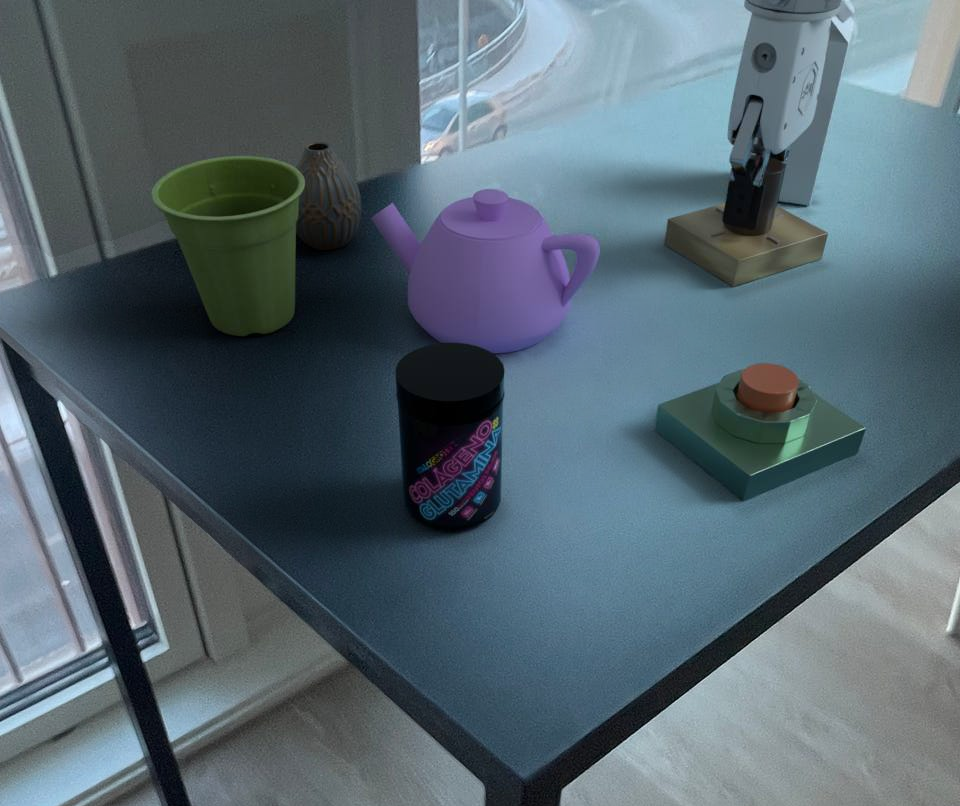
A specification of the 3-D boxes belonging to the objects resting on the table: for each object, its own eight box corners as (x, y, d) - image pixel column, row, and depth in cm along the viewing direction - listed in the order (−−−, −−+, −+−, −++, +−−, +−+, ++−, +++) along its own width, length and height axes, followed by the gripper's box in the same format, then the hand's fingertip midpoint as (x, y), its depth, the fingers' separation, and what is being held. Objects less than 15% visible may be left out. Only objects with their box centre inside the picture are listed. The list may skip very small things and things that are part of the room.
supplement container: (386, 521, 68) (375, 386, 60) (428, 466, 72) (423, 333, 65) (478, 547, 66) (479, 411, 59) (515, 488, 70) (521, 355, 63)
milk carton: (739, 198, 104) (780, -15, 91) (749, 172, 109) (789, -34, 95) (809, 207, 103) (861, -8, 89) (816, 180, 108) (866, -28, 94)
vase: (302, 262, 94) (290, 165, 87) (284, 232, 98) (271, 137, 92) (373, 250, 96) (366, 154, 89) (352, 221, 100) (343, 127, 94)
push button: (766, 378, 74) (771, 357, 73) (805, 404, 72) (811, 383, 70) (724, 394, 72) (729, 372, 71) (763, 421, 70) (768, 399, 69)
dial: (734, 211, 96) (746, 147, 92) (778, 221, 95) (792, 157, 90) (716, 228, 94) (727, 163, 89) (761, 239, 92) (775, 174, 88)
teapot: (411, 261, 94) (406, 142, 86) (615, 304, 89) (629, 181, 81) (339, 330, 85) (326, 204, 78) (561, 382, 80) (571, 252, 72)
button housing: (764, 388, 79) (775, 342, 77) (858, 452, 74) (873, 405, 71) (654, 429, 75) (661, 382, 73) (743, 501, 70) (755, 453, 67)
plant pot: (209, 280, 91) (184, 150, 83) (336, 291, 90) (322, 160, 82) (159, 346, 83) (125, 210, 75) (297, 360, 82) (278, 223, 74)
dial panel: (750, 219, 101) (755, 192, 99) (822, 258, 95) (829, 231, 93) (663, 244, 97) (667, 216, 95) (733, 287, 91) (738, 258, 89)
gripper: (806, 21, 74) (755, 261, 87) (872, -30, 84) (817, 192, 97) (710, 5, 77) (675, 240, 90) (785, -42, 87) (744, 175, 100)
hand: (749, 213), depth 93 cm, fingers closed on dial, 4 cm apart
